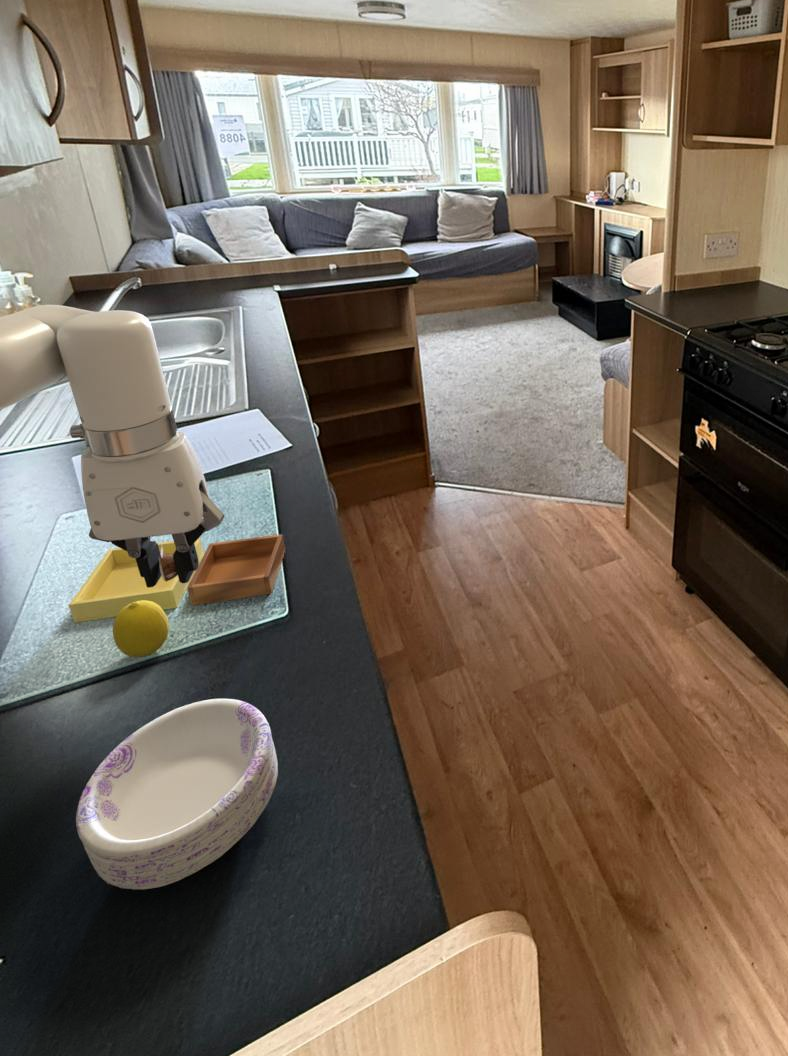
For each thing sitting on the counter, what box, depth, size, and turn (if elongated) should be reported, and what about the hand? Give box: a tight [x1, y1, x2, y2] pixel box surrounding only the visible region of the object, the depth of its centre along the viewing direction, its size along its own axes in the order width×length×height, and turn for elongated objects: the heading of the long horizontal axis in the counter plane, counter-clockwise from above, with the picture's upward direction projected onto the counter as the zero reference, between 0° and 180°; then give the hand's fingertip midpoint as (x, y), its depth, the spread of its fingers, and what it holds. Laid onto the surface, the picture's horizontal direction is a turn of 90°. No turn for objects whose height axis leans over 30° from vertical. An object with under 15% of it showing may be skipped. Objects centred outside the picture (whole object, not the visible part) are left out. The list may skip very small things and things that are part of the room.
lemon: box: [112, 600, 170, 658], centre depth 80 cm, size 6×6×8 cm
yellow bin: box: [68, 537, 205, 624], centre depth 93 cm, size 12×12×3 cm
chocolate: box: [158, 544, 178, 581], centre depth 73 cm, size 3×2×4 cm
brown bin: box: [186, 533, 287, 606], centre depth 95 cm, size 10×10×3 cm
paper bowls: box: [75, 698, 279, 891], centre depth 61 cm, size 15×15×8 cm
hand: (172, 576), depth 73 cm, fingers closed on chocolate, 2 cm apart
